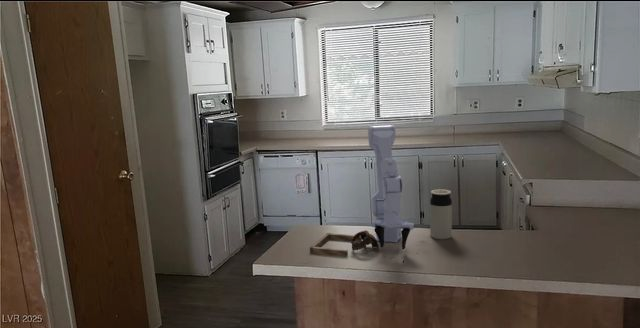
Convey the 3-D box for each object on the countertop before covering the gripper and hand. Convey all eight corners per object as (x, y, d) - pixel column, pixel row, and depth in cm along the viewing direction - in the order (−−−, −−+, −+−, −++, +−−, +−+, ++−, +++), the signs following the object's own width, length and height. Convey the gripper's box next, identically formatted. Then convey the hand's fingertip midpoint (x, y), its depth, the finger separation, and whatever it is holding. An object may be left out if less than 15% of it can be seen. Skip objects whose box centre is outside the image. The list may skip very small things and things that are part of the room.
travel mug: (449, 240, 177) (450, 194, 174) (428, 238, 180) (428, 193, 177) (452, 234, 185) (453, 189, 182) (432, 232, 188) (432, 188, 185)
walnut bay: (361, 240, 181) (361, 236, 181) (346, 256, 166) (346, 251, 165) (327, 237, 187) (327, 232, 187) (310, 252, 171) (309, 247, 171)
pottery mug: (382, 256, 166) (371, 238, 164) (359, 266, 169) (347, 249, 166) (380, 237, 177) (369, 220, 174) (357, 247, 180) (347, 231, 177)
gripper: (369, 212, 164) (370, 249, 167) (410, 214, 159) (410, 253, 161) (374, 206, 171) (375, 242, 173) (414, 209, 165) (415, 246, 167)
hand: (393, 247), depth 168 cm, fingers open, 7 cm apart
